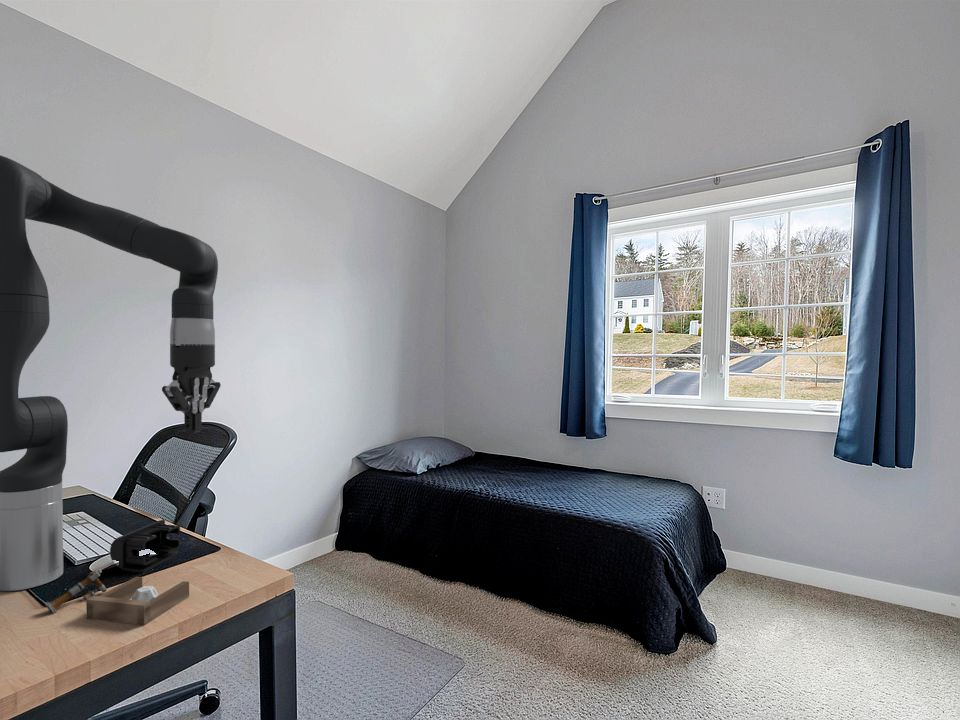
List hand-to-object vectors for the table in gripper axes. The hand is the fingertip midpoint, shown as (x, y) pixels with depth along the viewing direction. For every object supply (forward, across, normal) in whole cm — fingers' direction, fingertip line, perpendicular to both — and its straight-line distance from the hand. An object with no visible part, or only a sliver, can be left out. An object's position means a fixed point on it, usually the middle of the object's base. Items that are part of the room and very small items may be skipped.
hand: (193, 432), depth 98 cm
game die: (+26, +15, +4) cm, 31 cm away
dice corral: (+26, +15, +3) cm, 30 cm away
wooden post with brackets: (+26, +16, -8) cm, 32 cm away
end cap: (+26, 0, -10) cm, 28 cm away
